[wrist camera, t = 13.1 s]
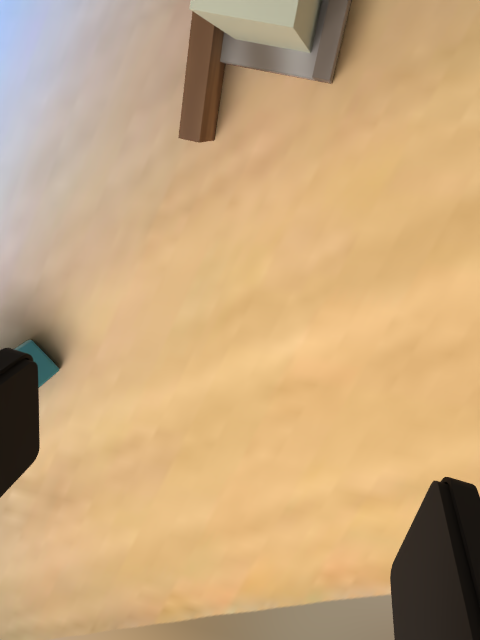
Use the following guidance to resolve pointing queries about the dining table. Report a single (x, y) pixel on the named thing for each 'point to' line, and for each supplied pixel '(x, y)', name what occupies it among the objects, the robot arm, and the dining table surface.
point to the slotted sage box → (264, 20)
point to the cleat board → (251, 64)
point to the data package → (39, 361)
